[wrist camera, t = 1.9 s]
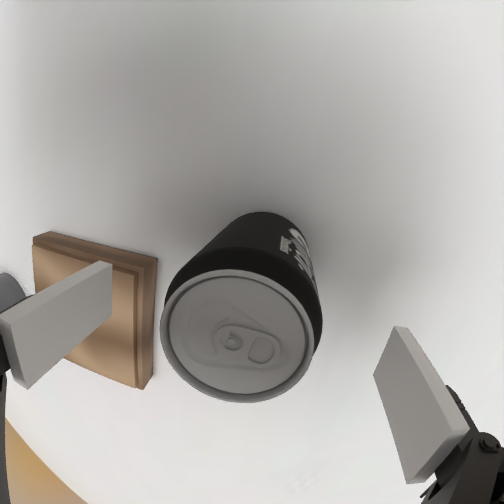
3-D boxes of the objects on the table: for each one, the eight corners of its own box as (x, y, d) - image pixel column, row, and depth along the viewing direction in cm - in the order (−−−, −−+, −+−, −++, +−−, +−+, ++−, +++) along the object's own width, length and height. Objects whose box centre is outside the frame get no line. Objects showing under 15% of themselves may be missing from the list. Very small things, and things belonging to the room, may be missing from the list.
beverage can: (233, 197, 21) (168, 230, 10) (322, 229, 21) (357, 298, 9) (208, 280, 23) (139, 375, 12) (289, 309, 23) (284, 426, 11)
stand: (49, 231, 24) (28, 238, 21) (157, 258, 23) (140, 270, 20) (57, 337, 27) (42, 350, 24) (152, 375, 26) (140, 394, 24)
